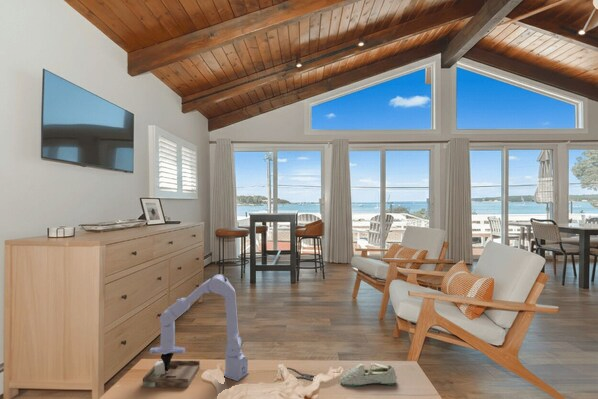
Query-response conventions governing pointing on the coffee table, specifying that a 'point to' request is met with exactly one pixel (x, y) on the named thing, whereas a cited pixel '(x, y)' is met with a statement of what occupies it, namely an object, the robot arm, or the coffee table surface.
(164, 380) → the wooden tray
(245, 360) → the robot arm
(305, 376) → the pliers
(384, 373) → the ballet flat
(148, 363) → the coffee table surface
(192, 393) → the coffee table surface
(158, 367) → the cream block
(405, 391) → the coffee table surface
